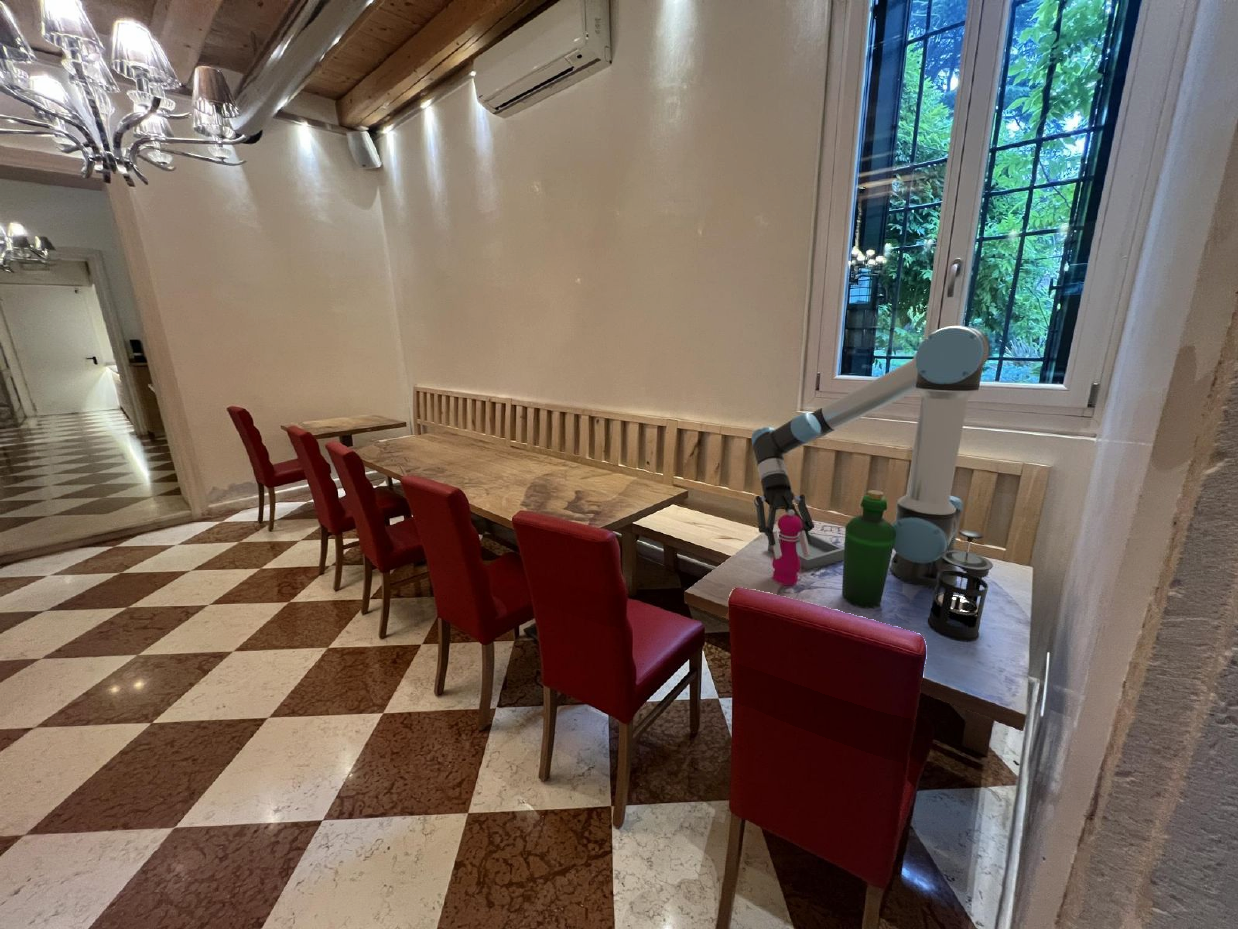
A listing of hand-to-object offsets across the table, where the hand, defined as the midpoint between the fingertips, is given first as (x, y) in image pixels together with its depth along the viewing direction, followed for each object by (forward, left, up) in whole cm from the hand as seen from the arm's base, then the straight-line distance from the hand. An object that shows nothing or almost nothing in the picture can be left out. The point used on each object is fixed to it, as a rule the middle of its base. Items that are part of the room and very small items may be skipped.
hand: (793, 556), depth 118 cm
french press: (-30, -18, -9) cm, 36 cm away
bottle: (-13, -10, -9) cm, 19 cm away
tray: (+11, -17, -8) cm, 22 cm away
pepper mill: (+3, -1, -9) cm, 9 cm away
